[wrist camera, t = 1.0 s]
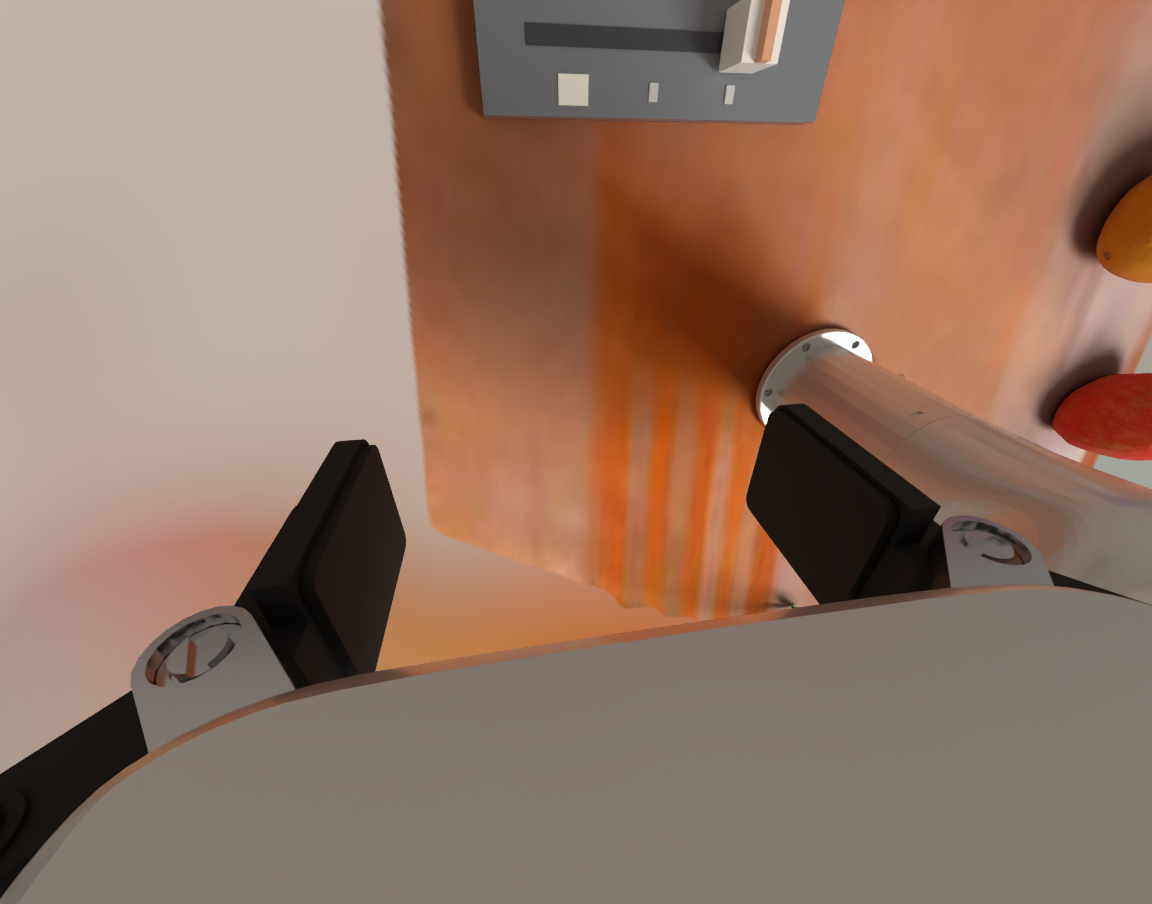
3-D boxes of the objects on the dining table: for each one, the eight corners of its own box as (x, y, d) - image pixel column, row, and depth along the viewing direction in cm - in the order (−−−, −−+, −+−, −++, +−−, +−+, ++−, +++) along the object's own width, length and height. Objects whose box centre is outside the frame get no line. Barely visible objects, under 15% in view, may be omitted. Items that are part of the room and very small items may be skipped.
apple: (1117, 346, 51) (1245, 382, 42) (1128, 393, 56) (1245, 435, 47) (1031, 407, 54) (1133, 452, 45) (1048, 447, 59) (1144, 495, 50)
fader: (762, 11, 27) (799, -11, 24) (751, 73, 29) (784, 61, 26) (727, 9, 27) (759, -13, 24) (718, 72, 29) (747, 59, 25)
